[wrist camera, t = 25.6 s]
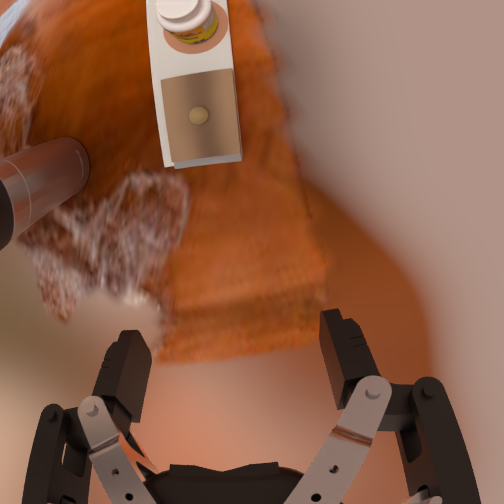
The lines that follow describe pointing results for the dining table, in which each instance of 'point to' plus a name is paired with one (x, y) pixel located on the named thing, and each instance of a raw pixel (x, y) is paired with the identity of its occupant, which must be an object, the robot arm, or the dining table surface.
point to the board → (187, 69)
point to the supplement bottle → (187, 19)
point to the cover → (201, 115)
